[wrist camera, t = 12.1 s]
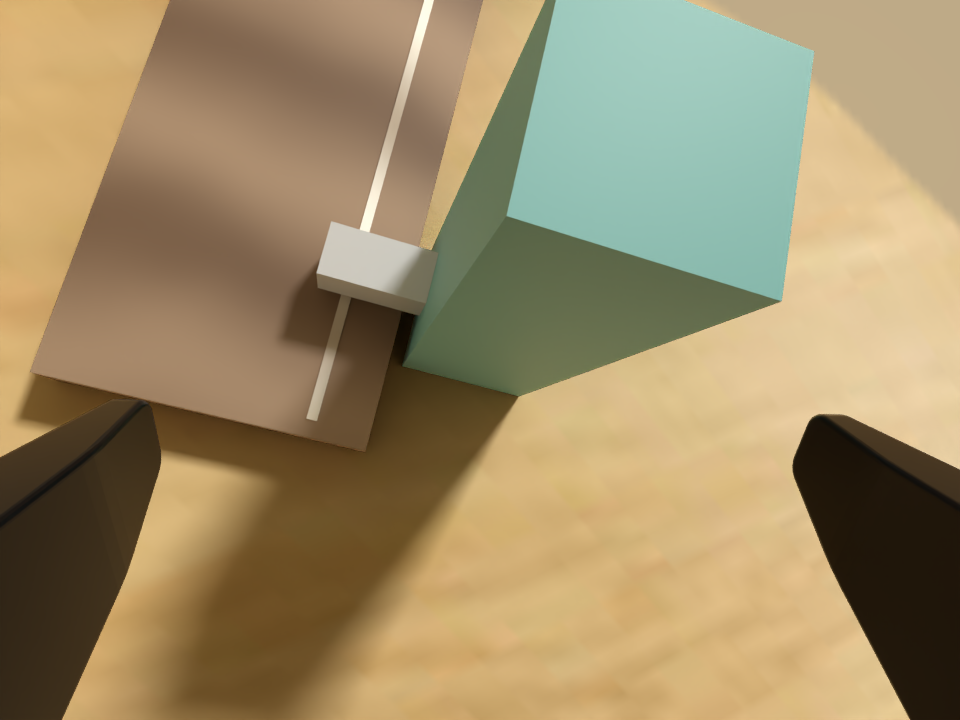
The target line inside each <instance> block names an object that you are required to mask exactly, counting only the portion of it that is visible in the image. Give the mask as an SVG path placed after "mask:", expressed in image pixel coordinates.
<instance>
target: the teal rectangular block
mask: <svg viewBox="0 0 960 720" xmlns="http://www.w3.org/2000/svg"><path fill="white" fill-rule="evenodd" d="M813 57H814V51H812V50H810V49H807V48H804V47H802V46H799V45H797V44H794V43H792V42H789V41H787V40H784V39H782V38H779V37H776V36H774V35H771V34H768V33H766V32H764V31H761V30H759V29H756V28H753V27H751V26H748V25H746V24H743V23H741V22H738V21H736V20H733V19H731V18H728V17H725V16H723V15H720V14H718V13H715V12H713V11H710V10H708V9H705V8H702V7H700V6H697V5H695V4H692V3H690V2H687V1H685V0H545V3H544V5H543V7H542V9H541V11H540V13H539V16H538V18H537V20H536V22H535V24H534V27H533V29H532V31H531V33H530V35H529V38H528V40H527V42H526V44H525V46H524V48H523V51H522V53H521V55H520V57H519V59H518V62H517V64H516V66H515V68H514V70H513V73H512V75H511V77H510V79H509V81H508V84H507V86H506V88H505V90H504V92H503V94H502V97H501V99H500V101H499V103H498V105H497V108H496V110H495V112H494V114H493V116H492V119H491V121H490V123H489V125H488V127H487V130H486V132H485V134H484V136H483V138H482V140H481V143H480V145H479V147H478V149H477V151H476V154H475V156H474V158H473V160H472V162H471V165H470V167H469V169H468V171H467V173H466V176H465V178H464V180H463V182H462V184H461V186H460V189H459V191H458V193H457V195H456V197H455V200H454V202H453V204H452V206H451V208H450V211H449V213H448V215H447V217H446V219H445V222H444V224H443V226H442V228H441V230H440V232H439V235H438V237H437V239H436V241H435V243H434V246H433V248H432V250H428V249H424V248H421V247H417V246H414V245H410V244H407V243H404V242H400V241H397V240H393V239H390V238H387V237H383V236H380V235H376V234H373V233H370V232H366V231H363V230H359V229H356V228H353V227H349V226H346V225H342V224H339V223H336V222H332V221H331V224H330V228H329V231H328V235H327V238H326V242H325V245H324V249H323V252H322V255H321V259H320V262H319V266H318V269H317V273H316V274H317V285H318V288H320V289H324V290H327V291H331V292H335V293H338V294H342V295H346V296H349V297H353V298H356V299H360V300H364V301H367V302H371V303H375V304H378V305H382V306H386V307H389V308H393V309H397V310H400V311H404V312H408V313H411V314H415V316H414V320H413V324H412V328H411V332H410V336H409V340H408V344H407V348H406V352H405V356H404V360H403V364H402V366H403V367H407V368H411V369H415V370H419V371H423V372H427V373H431V374H434V375H438V376H442V377H446V378H450V379H454V380H458V381H461V382H465V383H469V384H473V385H477V386H481V387H485V388H489V389H492V390H496V391H500V392H504V393H508V394H512V395H516V396H522V395H524V394H527V393H530V392H533V391H535V390H538V389H541V388H544V387H547V386H549V385H552V384H555V383H558V382H560V381H563V380H566V379H569V378H571V377H574V376H577V375H580V374H582V373H585V372H588V371H591V370H593V369H596V368H599V367H602V366H604V365H607V364H610V363H613V362H615V361H618V360H621V359H624V358H627V357H629V356H632V355H635V354H638V353H640V352H643V351H646V350H649V349H651V348H654V347H657V346H660V345H662V344H665V343H668V342H671V341H673V340H676V339H679V338H682V337H684V336H687V335H690V334H693V333H695V332H698V331H701V330H704V329H707V328H709V327H712V326H715V325H718V324H720V323H723V322H726V321H729V320H731V319H734V318H737V317H740V316H742V315H745V314H748V313H751V312H753V311H756V310H759V309H762V308H764V307H767V306H770V305H773V304H775V303H778V302H781V301H782V295H783V287H784V280H785V272H786V264H787V257H788V249H789V241H790V234H791V226H792V218H793V211H794V203H795V195H796V187H797V180H798V172H799V164H800V157H801V149H802V141H803V134H804V126H805V118H806V111H807V103H808V95H809V88H810V80H811V72H812V65H813Z"/></svg>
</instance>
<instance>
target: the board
mask: <svg viewBox="0 0 960 720" xmlns="http://www.w3.org/2000/svg"><path fill="white" fill-rule="evenodd" d="M482 2H483V0H170V2H169V4H168V7H167V10H166V12H165V15H164V18H163V20H162V23H161V26H160V28H159V31H158V34H157V36H156V39H155V41H154V44H153V47H152V49H151V52H150V55H149V57H148V60H147V63H146V65H145V68H144V71H143V73H142V76H141V79H140V81H139V84H138V87H137V89H136V92H135V95H134V97H133V100H132V102H131V105H130V108H129V110H128V113H127V116H126V118H125V121H124V124H123V126H122V129H121V132H120V134H119V137H118V140H117V142H116V145H115V148H114V150H113V153H112V155H111V158H110V161H109V163H108V166H107V169H106V171H105V174H104V177H103V179H102V182H101V185H100V187H99V190H98V193H97V195H96V198H95V201H94V203H93V206H92V208H91V211H90V214H89V216H88V219H87V222H86V224H85V227H84V230H83V232H82V235H81V238H80V240H79V243H78V246H77V248H76V251H75V254H74V256H73V259H72V261H71V264H70V267H69V269H68V272H67V275H66V277H65V280H64V283H63V285H62V288H61V291H60V293H59V296H58V299H57V301H56V304H55V307H54V309H53V312H52V315H51V317H50V320H49V322H48V325H47V328H46V330H45V333H44V336H43V338H42V341H41V344H40V346H39V349H38V352H37V354H36V357H35V360H34V362H33V365H32V368H31V370H30V372H31V373H35V374H38V375H41V376H45V377H48V378H51V379H55V380H59V381H64V382H68V383H72V384H76V385H81V386H85V387H89V388H93V389H98V390H102V391H106V392H110V393H115V394H119V395H123V396H127V397H132V398H136V399H140V400H144V401H149V402H153V403H157V404H162V405H166V406H170V407H174V408H179V409H183V410H187V411H191V412H196V413H200V414H204V415H208V416H213V417H217V418H221V419H225V420H230V421H234V422H238V423H242V424H247V425H251V426H255V427H259V428H264V429H268V430H272V431H276V432H281V433H285V434H289V435H293V436H298V437H302V438H306V439H310V440H315V441H319V442H323V443H328V444H332V445H336V446H340V447H345V448H349V449H353V450H357V451H362V452H365V451H366V448H367V444H368V441H369V437H370V433H371V429H372V425H373V421H374V417H375V414H376V410H377V406H378V402H379V398H380V394H381V390H382V387H383V383H384V379H385V375H386V371H387V367H388V364H389V360H390V356H391V352H392V348H393V344H394V340H395V337H396V333H397V329H398V325H399V321H400V317H401V314H402V311H400V310H397V309H393V308H389V307H386V306H382V305H378V304H375V303H371V302H367V301H364V300H360V299H356V298H353V297H349V296H346V295H342V294H338V293H335V292H331V291H327V290H324V289H320V288H318V285H317V274H316V273H317V269H318V266H319V262H320V259H321V255H322V252H323V249H324V245H325V242H326V238H327V235H328V231H329V228H330V224H331V221H332V222H336V223H339V224H342V225H346V226H349V227H353V228H356V229H359V230H363V231H366V232H370V233H373V234H376V235H380V236H383V237H387V238H390V239H393V240H397V241H400V242H404V243H407V244H410V245H414V246H417V247H419V244H420V240H421V237H422V233H423V229H424V225H425V221H426V217H427V213H428V210H429V206H430V202H431V198H432V194H433V190H434V187H435V183H436V179H437V175H438V171H439V167H440V163H441V160H442V156H443V152H444V148H445V144H446V140H447V136H448V133H449V129H450V125H451V121H452V117H453V113H454V110H455V106H456V102H457V98H458V94H459V90H460V86H461V83H462V79H463V75H464V71H465V67H466V63H467V60H468V56H469V52H470V48H471V44H472V40H473V36H474V33H475V29H476V25H477V21H478V17H479V13H480V9H481V6H482Z"/></svg>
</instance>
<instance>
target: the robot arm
mask: <svg viewBox="0 0 960 720" xmlns="http://www.w3.org/2000/svg"><path fill="white" fill-rule="evenodd" d="M160 465H161V450H160V445H159V440H158V436H157V431H156V426H155V422H154V417H153V412H152V409H151V407H150V405H149V403H147V402H146V401H144V400H132V399H114V400H110V401H108V402H106V403H104V404H102V405H100V406H98V407H96V408H94V409H92V410H90V411H89V412H87V413H85V414H83V415H81V416H79V417H77V418H75V419H73V420H71V421H69V422H67V423H65V424H63V425H61V426H60V427H58V428H56V429H54V430H52V431H50V432H48V433H46V434H44V435H42V436H40V437H38V438H36V439H34V440H33V441H31V442H29V443H27V444H25V445H23V446H21V447H19V448H17V449H15V450H13V451H11V452H9V453H7V454H6V455H4V456H2V457H0V720H62V718H63V716H64V714H65V712H66V709H67V707H68V705H69V703H70V701H71V698H72V696H73V694H74V692H75V689H76V687H77V685H78V683H79V680H80V678H81V676H82V674H83V672H84V669H85V667H86V665H87V663H88V660H89V658H90V656H91V654H92V651H93V649H94V647H95V645H96V642H97V640H98V638H99V636H100V634H101V631H102V629H103V627H104V625H105V622H106V620H107V618H108V616H109V613H110V611H111V609H112V607H113V605H114V602H115V600H116V598H117V596H118V593H119V591H120V589H121V586H122V584H123V581H124V579H125V577H126V574H127V572H128V569H129V566H130V563H131V560H132V557H133V554H134V551H135V547H136V544H137V541H138V538H139V535H140V531H141V528H142V525H143V522H144V518H145V515H146V512H147V509H148V506H149V502H150V499H151V496H152V493H153V489H154V486H155V483H156V480H157V477H158V473H159V470H160ZM792 466H793V475H794V478H795V481H796V483H797V486H798V488H799V491H800V493H801V496H802V498H803V501H804V503H805V506H806V508H807V511H808V513H809V516H810V518H811V521H812V523H813V526H814V528H815V531H816V533H817V536H818V538H819V541H820V543H821V546H822V548H823V551H824V553H825V555H826V558H827V560H828V562H829V565H830V567H831V569H832V571H833V573H834V575H835V577H836V579H837V581H838V583H839V586H840V587H841V589H842V591H843V593H844V595H845V597H846V599H847V601H848V603H849V605H850V606H851V608H852V610H853V612H854V614H855V616H856V618H857V620H858V622H859V624H860V626H861V627H862V629H863V631H864V633H865V635H866V637H867V639H868V641H869V643H870V645H871V646H872V648H873V650H874V652H875V654H876V656H877V658H878V660H879V662H880V664H881V665H882V667H883V669H884V671H885V673H886V675H887V677H888V679H889V681H890V683H891V685H892V686H893V688H894V690H895V692H896V694H897V696H898V698H899V700H900V702H901V704H902V705H903V707H904V709H905V711H906V713H907V715H908V717H909V719H910V720H960V469H957V468H955V467H953V466H951V465H949V464H947V463H945V462H943V461H941V460H939V459H936V458H934V457H932V456H930V455H928V454H926V453H924V452H922V451H920V450H918V449H916V448H913V447H911V446H909V445H907V444H905V443H903V442H901V441H899V440H897V439H895V438H892V437H890V436H888V435H886V434H884V433H882V432H880V431H878V430H876V429H874V428H872V427H869V426H867V425H865V424H863V423H861V422H859V421H857V420H855V419H853V418H851V417H848V416H846V415H840V414H818V415H816V416H814V417H812V418H811V420H810V421H809V423H808V425H807V427H806V429H805V432H804V434H803V437H802V439H801V442H800V444H799V447H798V449H797V451H796V454H795V456H794V459H793V465H792Z"/></svg>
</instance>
